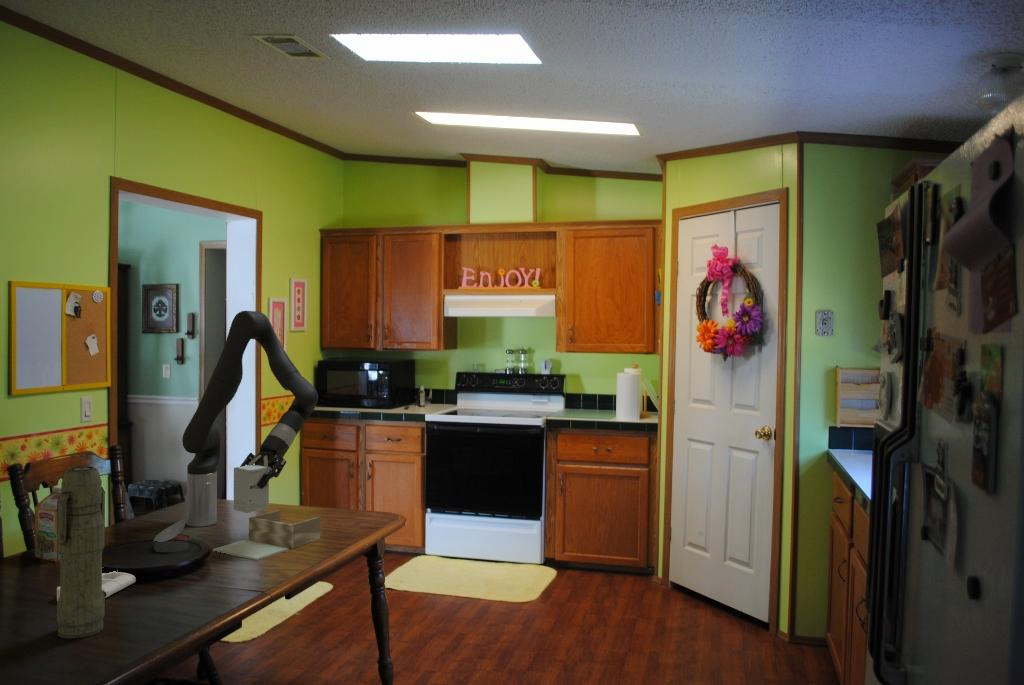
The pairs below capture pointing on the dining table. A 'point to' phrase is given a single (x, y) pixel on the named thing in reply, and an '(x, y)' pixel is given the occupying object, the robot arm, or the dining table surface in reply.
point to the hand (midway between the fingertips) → (249, 485)
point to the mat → (251, 549)
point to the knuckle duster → (112, 582)
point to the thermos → (80, 553)
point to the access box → (283, 530)
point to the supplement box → (250, 489)
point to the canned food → (172, 532)
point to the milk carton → (47, 527)
